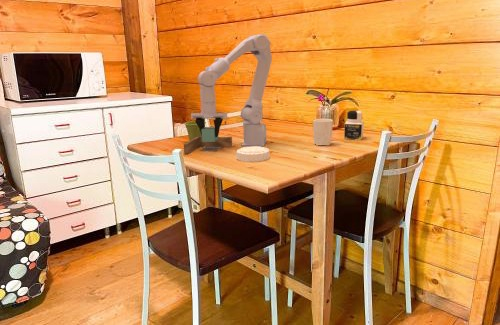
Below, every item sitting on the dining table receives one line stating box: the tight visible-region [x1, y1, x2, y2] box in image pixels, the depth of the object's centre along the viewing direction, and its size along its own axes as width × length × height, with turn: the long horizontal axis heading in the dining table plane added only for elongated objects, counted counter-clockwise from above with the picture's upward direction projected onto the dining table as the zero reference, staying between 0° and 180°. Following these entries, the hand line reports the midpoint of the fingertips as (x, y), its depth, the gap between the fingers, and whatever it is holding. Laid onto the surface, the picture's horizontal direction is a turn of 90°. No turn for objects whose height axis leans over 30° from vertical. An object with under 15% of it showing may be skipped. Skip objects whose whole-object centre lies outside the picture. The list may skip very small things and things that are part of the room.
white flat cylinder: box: [235, 146, 271, 163], centre depth 137 cm, size 12×12×4 cm
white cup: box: [312, 118, 334, 146], centre depth 154 cm, size 8×8×10 cm
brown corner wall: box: [183, 136, 233, 155], centre depth 151 cm, size 15×15×4 cm
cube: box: [201, 126, 219, 142], centre depth 151 cm, size 5×5×5 cm
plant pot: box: [183, 120, 207, 141], centre depth 167 cm, size 9×9×9 cm
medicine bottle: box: [343, 110, 365, 141], centre depth 164 cm, size 7×7×12 cm
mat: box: [199, 147, 223, 152], centre depth 153 cm, size 7×7×1 cm
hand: (210, 136), depth 152 cm, fingers closed on cube, 5 cm apart
